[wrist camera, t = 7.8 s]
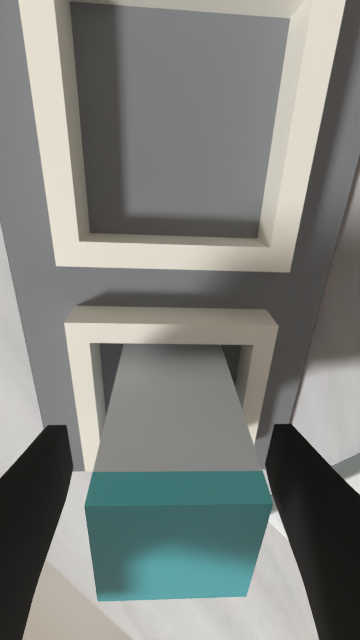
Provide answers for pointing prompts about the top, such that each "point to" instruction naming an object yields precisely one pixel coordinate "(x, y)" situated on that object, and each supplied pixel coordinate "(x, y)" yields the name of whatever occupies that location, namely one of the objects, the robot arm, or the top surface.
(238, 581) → the plug
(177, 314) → the frame
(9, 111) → the mat
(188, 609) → the top surface
